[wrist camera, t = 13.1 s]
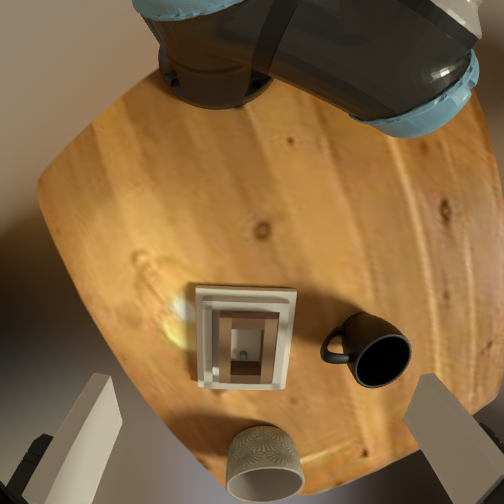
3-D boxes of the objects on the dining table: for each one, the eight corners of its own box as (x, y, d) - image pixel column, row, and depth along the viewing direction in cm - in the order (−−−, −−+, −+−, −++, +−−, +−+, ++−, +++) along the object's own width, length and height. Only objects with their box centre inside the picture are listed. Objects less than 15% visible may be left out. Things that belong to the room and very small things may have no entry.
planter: (244, 465, 49) (246, 508, 38) (213, 430, 46) (210, 478, 35) (304, 447, 48) (314, 490, 38) (280, 409, 45) (289, 457, 35)
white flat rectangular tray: (196, 284, 40) (194, 292, 37) (295, 288, 40) (299, 296, 38) (199, 382, 43) (197, 392, 41) (283, 384, 44) (285, 394, 41)
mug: (316, 296, 41) (337, 328, 32) (389, 306, 42) (421, 335, 33) (301, 347, 43) (316, 387, 33) (372, 353, 44) (397, 388, 34)
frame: (220, 305, 39) (219, 317, 36) (274, 307, 40) (278, 319, 36) (220, 368, 41) (218, 383, 38) (268, 369, 42) (271, 384, 38)
